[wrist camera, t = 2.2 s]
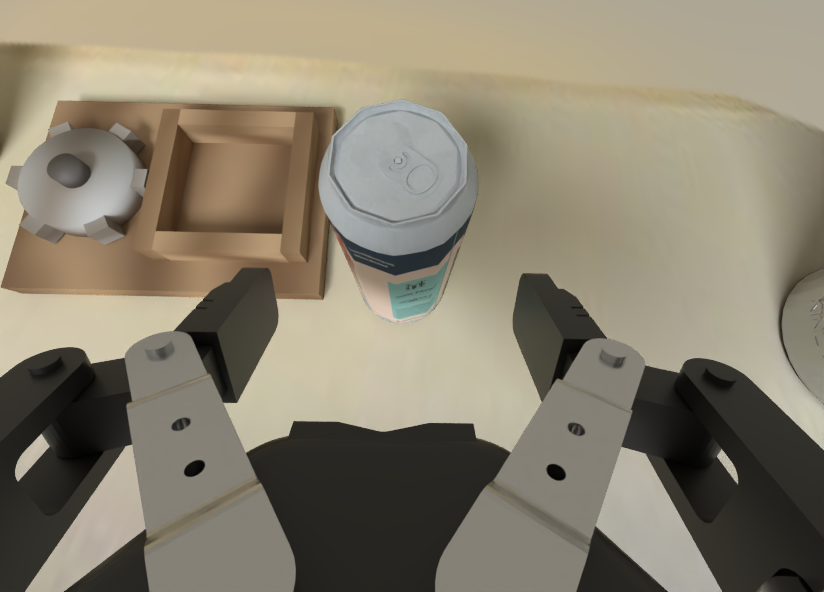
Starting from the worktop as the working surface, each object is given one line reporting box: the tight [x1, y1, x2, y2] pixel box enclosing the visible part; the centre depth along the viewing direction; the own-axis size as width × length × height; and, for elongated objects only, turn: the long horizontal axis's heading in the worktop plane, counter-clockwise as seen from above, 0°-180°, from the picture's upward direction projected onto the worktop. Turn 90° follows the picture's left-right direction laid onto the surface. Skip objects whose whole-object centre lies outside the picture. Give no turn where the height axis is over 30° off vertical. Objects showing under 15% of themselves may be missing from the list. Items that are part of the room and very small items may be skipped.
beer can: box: [318, 99, 478, 323], centre depth 16 cm, size 5×5×12 cm
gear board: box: [1, 101, 337, 300], centre depth 21 cm, size 17×12×3 cm
